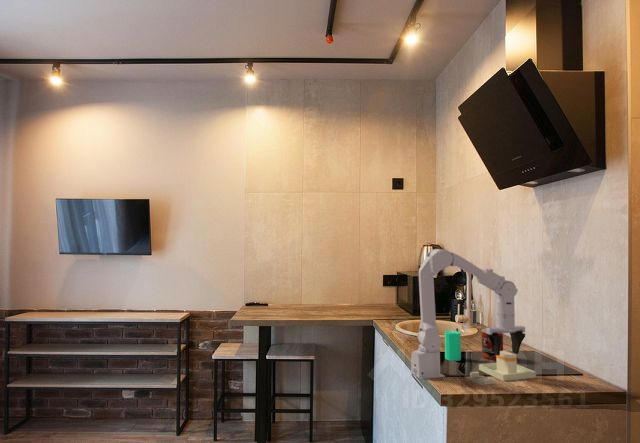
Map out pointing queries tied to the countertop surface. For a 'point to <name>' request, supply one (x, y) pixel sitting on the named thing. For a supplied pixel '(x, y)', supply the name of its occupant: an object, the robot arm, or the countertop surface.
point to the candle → (453, 345)
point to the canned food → (489, 346)
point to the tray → (521, 374)
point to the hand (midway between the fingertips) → (506, 353)
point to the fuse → (506, 363)
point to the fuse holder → (480, 379)
